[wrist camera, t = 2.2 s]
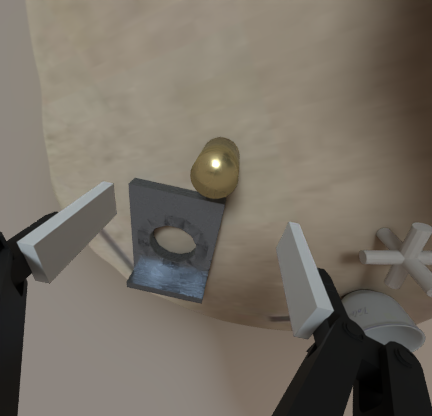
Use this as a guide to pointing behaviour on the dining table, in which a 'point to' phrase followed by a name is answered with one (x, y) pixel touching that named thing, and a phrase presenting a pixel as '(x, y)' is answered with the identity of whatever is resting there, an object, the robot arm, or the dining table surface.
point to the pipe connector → (404, 257)
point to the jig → (177, 217)
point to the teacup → (383, 318)
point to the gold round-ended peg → (216, 169)
